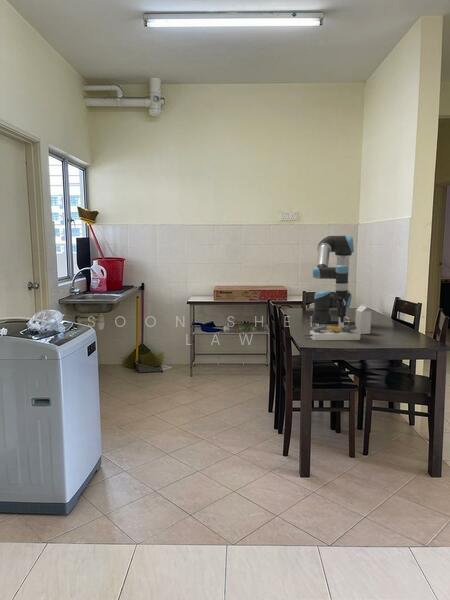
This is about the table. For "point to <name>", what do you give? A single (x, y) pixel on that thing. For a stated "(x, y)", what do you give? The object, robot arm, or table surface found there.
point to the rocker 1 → (319, 328)
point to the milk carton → (363, 320)
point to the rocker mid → (334, 328)
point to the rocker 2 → (349, 328)
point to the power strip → (334, 335)
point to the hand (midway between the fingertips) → (341, 327)
